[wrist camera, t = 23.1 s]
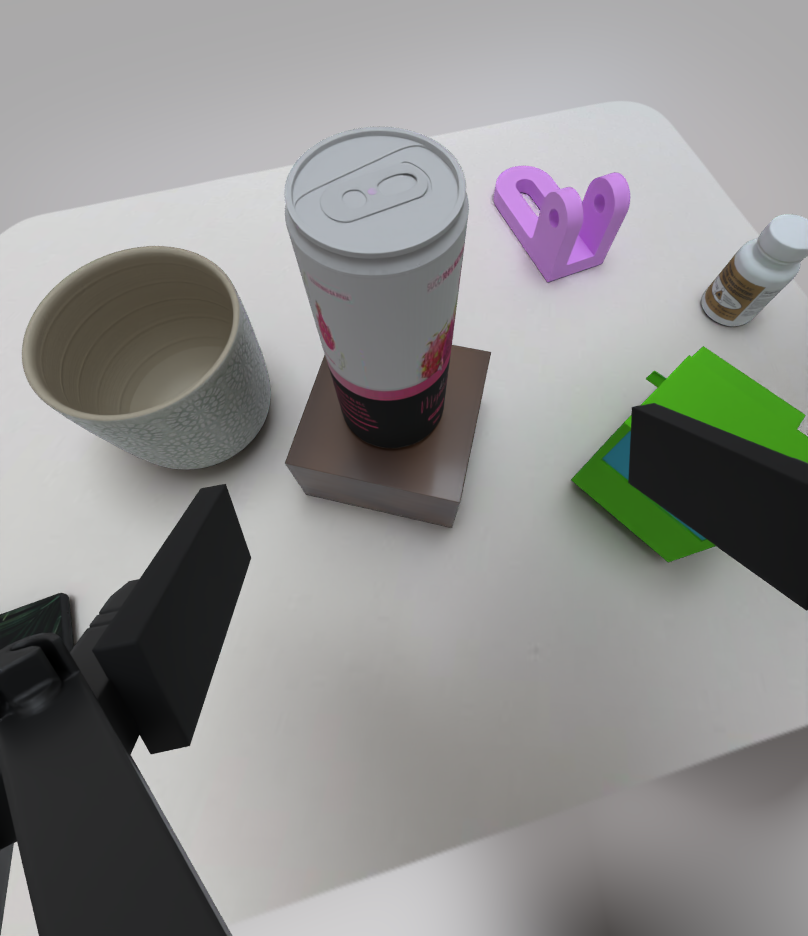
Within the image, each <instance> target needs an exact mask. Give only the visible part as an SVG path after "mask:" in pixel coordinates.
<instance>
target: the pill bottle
mask: <svg viewBox="0 0 808 936" xmlns="http://www.w3.org/2000/svg"><path fill="white" fill-rule="evenodd" d="M806 256H808V219H806V218H804V217H801V216H798V215H793V214H785V215H780V216H777V217H776V218H774V219H773V220H772V221H771V222H770V223H769V224H768V225H767V227H766V228H765V229H764V230H763V231H762V232H761V234H760V236H759V237H758V238H757V239H753V240H751V241H749V242H747V243H746V244H744V245H743V246H742V247H741V248H740V249H739V251H738V252H737V253H736V254H735V255H734V257H733V258H732V259H731V260H730V262H729V263H728V264H727V265H726V267H725V268H724V269H723V270H722V272H721V273H720V274H719V275H718V276H717V278H716V279H715V280H714V281H713V282H712V283H711V285H710V286H709V287H708V289H707V290H706V291H705V292H704V294H703V296H702V307H703V309H704V311H705V312H706V314H707V315H708V316H709V317H710V318H711V319H713V320H714V321H716V322H718V323H720V324H723V325H726V326H739V325H743V324H745V323H747V322H749V321H750V320H751V319H752V318H753V317H754V316H756V315H757V314H758V313H759V312H760V311H761V310H762V309H763V308H764V307H765V306H766V305H767V304H768V303H769V302H770V301H771V300H772V299H773V298H774V297H775V296H776V295H777V294H778V293H779V292H780V291H781V290H782V289H783V288H784V287H785V286H786V285H787V284H788V283H789V282H790V281H791V280H792V279H793V278H794V277H795V276H796V275H797V273H798V271H799V269H800V262H801V261H802V260H803V259H804V258H805V257H806Z"/></svg>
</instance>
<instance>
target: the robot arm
mask: <svg viewBox="0 0 808 936" xmlns="http://www.w3.org/2000/svg"><path fill="white" fill-rule="evenodd" d="M628 483H629V484H630V485H632V486H633V487H634V488H636V489H637V490H639V491H640V492H641V493H643V494H644V495H646V496H647V497H648V498H650V499H651V500H652V501H654V502H655V503H657V504H658V505H659V506H661V507H662V508H664V509H665V510H666V511H668V512H669V513H671V514H672V515H673V516H675V517H676V518H678V519H679V520H680V521H682V522H683V523H685V524H686V525H687V526H689V527H690V528H692V529H693V530H694V531H696V532H697V533H699V534H700V535H701V536H703V537H704V538H706V539H707V540H708V541H710V542H711V543H713V544H714V545H715V546H717V547H718V548H720V549H721V550H722V551H724V552H725V553H727V554H728V555H729V556H731V557H732V558H734V559H735V560H736V561H738V562H739V563H741V564H742V565H743V566H745V567H746V568H748V569H749V570H750V571H752V572H753V573H755V574H756V575H757V576H759V577H760V578H762V579H763V580H764V581H766V582H767V583H769V584H770V585H771V586H773V587H774V588H776V589H777V590H778V591H780V592H781V593H783V594H784V595H785V596H787V597H788V598H790V599H791V600H792V601H794V602H795V603H797V604H798V605H799V606H801V607H802V608H804V609H805V610H806V611H807V610H808V463H807V462H804V461H802V460H799V459H796V458H792V457H789V456H787V455H784V454H782V453H779V452H777V451H774V450H772V449H769V448H767V447H764V446H762V445H759V444H757V443H754V442H752V441H749V440H746V439H744V438H741V437H739V436H736V435H734V434H731V433H729V432H726V431H724V430H721V429H719V428H716V427H714V426H711V425H709V424H706V423H704V422H701V421H699V420H696V419H694V418H691V417H689V416H686V415H684V414H681V413H679V412H676V411H674V410H671V409H669V408H666V407H663V406H661V405H658V404H656V403H651V404H646V405H641V406H636V407H632V417H631V437H630V457H629V477H628ZM250 560H251V556H250V553H249V550H248V547H247V544H246V541H245V538H244V536H243V533H242V530H241V527H240V524H239V521H238V518H237V515H236V512H235V509H234V506H233V504H232V501H231V498H230V495H229V492H228V489H227V486H226V484H222V485H217V486H212V487H207V488H201V489H200V490H199V492H198V493H197V495H196V496H195V498H194V499H193V501H192V502H191V504H190V505H189V507H188V508H187V510H186V511H185V513H184V514H183V516H182V517H181V519H180V520H179V522H178V523H177V525H176V526H175V528H174V529H173V530H172V532H171V533H170V535H169V536H168V538H167V539H166V541H165V542H164V544H163V545H162V547H161V548H160V550H159V551H158V553H157V554H156V556H155V557H154V559H153V560H152V562H151V563H150V565H149V566H148V568H147V569H146V570H145V572H144V573H143V575H142V576H141V578H140V579H138V580H133V581H129V582H128V583H126V584H125V585H124V586H123V587H121V588H120V589H119V590H118V591H117V592H115V593H114V594H113V595H112V596H111V597H110V598H109V599H108V601H107V602H106V603H105V605H104V606H103V608H102V609H101V610H100V612H99V615H97V616H96V617H95V619H94V620H93V621H92V623H91V624H90V628H88V629H87V630H86V631H85V632H84V634H83V635H82V636H81V638H80V639H79V640H78V642H77V643H76V645H75V646H74V647H73V649H72V650H71V651H70V652H69V651H68V649H67V647H66V646H65V644H64V642H63V640H62V639H61V637H60V636H58V635H57V634H55V633H40V634H36V635H32V636H28V637H25V638H23V639H21V640H18V641H16V642H14V643H12V644H9V645H8V646H6V647H4V648H3V649H1V650H0V935H1V928H2V921H3V914H4V907H5V900H6V893H7V887H8V880H9V873H10V866H11V859H12V852H13V845H14V843H15V842H18V847H19V851H20V855H21V860H22V864H23V868H24V873H25V877H26V881H27V886H28V890H29V894H30V899H31V903H32V907H33V912H34V916H35V920H36V924H37V929H38V933H39V936H232V934H231V933H230V931H229V929H228V927H227V925H226V923H225V922H224V920H223V918H222V916H221V915H220V913H219V911H218V909H217V907H216V906H215V904H214V902H213V900H212V899H211V897H210V895H209V893H208V891H207V890H206V888H205V886H204V884H203V883H202V881H201V879H200V877H199V875H198V874H197V872H196V870H195V868H194V867H193V865H192V863H191V861H190V859H189V858H188V856H187V854H186V852H185V851H184V849H183V847H182V845H181V843H180V842H179V840H178V838H177V836H176V835H175V833H174V831H173V829H172V827H171V826H170V824H169V822H168V820H167V818H166V817H165V815H164V813H163V811H162V810H161V808H160V806H159V804H158V802H157V801H156V799H155V797H154V795H153V794H152V792H151V790H150V788H149V786H148V785H147V783H146V781H145V779H144V778H143V776H142V774H141V772H140V770H139V769H138V767H137V765H136V763H135V762H134V760H133V758H132V757H131V752H132V750H133V748H134V746H135V743H136V741H137V739H138V737H139V735H140V736H141V738H142V740H143V742H144V743H145V745H146V747H147V749H148V750H149V752H150V754H155V753H160V752H164V751H169V750H173V749H178V748H182V747H187V746H190V744H191V741H192V738H193V734H194V731H195V728H196V725H197V722H198V719H199V716H200V713H201V710H202V707H203V704H204V701H205V698H206V695H207V692H208V689H209V686H210V682H211V679H212V676H213V673H214V670H215V667H216V664H217V661H218V658H219V655H220V652H221V649H222V646H223V643H224V640H225V637H226V633H227V630H228V627H229V624H230V621H231V618H232V615H233V612H234V609H235V606H236V603H237V600H238V597H239V594H240V591H241V588H242V584H243V581H244V578H245V575H246V572H247V569H248V566H249V563H250Z"/></svg>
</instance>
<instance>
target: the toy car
mask: <svg viewBox="0 0 808 936" xmlns="http://www.w3.org/2000/svg"><path fill="white" fill-rule="evenodd" d="M646 379H647V380H648V381H649V382H651V383H652V384H654V385H655V386H656V387H658V388H657V389H656V390H655V391H654V392H653V393H652V394H651V395H650V396H649V397H648V398H647V399H646V400H645V401H644V402H643V403H642V404H641V405H646V404H651V403H656V404H658V405H661V406H663V407H666V408H669V409H671V410H674V411H676V412H679V413H681V414H684V415H686V416H689V417H691V418H694V419H696V420H699V421H701V422H704V423H706V424H709V425H711V426H714V427H716V428H719V429H721V430H724V431H726V432H729V433H731V434H734V435H736V436H739V437H741V438H744V439H746V440H749V441H752V442H754V443H757V444H759V445H762V446H764V447H767V448H769V449H772V450H774V451H777V452H779V453H782V454H784V455H787V456H789V457H792V458H796V459H799V460H802V461H804V462H807V463H808V437H807V436H806V435H805V434H803V433H802V432H800V431H799V430H797V428H798V427H799V425H800V423H801V422H802V420H803V419H804V417H805V414H803V413H802V412H800V411H799V410H797V409H796V408H794V407H793V406H791V405H790V404H788V403H787V402H785V401H784V400H782V399H781V398H779V397H778V396H776V395H775V394H773V393H772V392H770V391H769V390H768V389H766V388H765V387H763V386H762V385H760V384H759V383H757V382H756V381H754V380H753V379H751V378H750V377H748V376H747V375H745V374H744V373H742V372H741V371H739V370H738V369H736V368H735V367H733V366H732V365H730V364H729V363H727V362H726V361H724V360H723V359H722V358H720V357H719V356H717V355H716V354H714V353H713V352H711V351H710V350H708V349H707V348H705V347H704V346H703V347H702V348H701V349H700V350H699V351H698V352H696V353H695V354H694V355H693V356H692V357H691V356H690V355H689V356H688V357H687V358H686V359H685V360H684V361H683V362H682V363H681V364H680V365H679V366H678V367H677V368H676V369H675V370H674V371H673V372H672V373H671V374H670V376H669V377H668V378H667V379H666V378H665V377H663V376H662V375H661V374H659V373H658V372H656V371H653V372H652V373H651V374H650V375H649V376H648V377H647V378H646ZM641 405H640V406H641ZM631 417H632V415H631V416H630V417H629V418H628V419H627V420H626V421H625V422H624V423H623V424H622V425H621V426H620V427H619V428H618V429H617V431H616V432H615V433H614V434H613V435H612V436H611V437H610V438H609V439H608V440H607V441H606V442H605V444H604V445H603V446H602V447H601V448H600V449H599V450H598V451H597V452H596V453H595V454H594V455H593V456H592V458H591V459H590V460H589V461H588V462H587V463H586V464H585V465H584V466H583V467H582V468H581V469H580V471H579V472H578V473H577V474H576V475H575V476H574V477H573V478H572V479H571V480H572V481H573V482H574V483H575V484H576V485H577V486H579V487H580V488H581V489H582V490H583V491H585V492H586V493H587V494H588V495H589V496H590V497H592V498H593V499H594V500H595V501H596V502H598V503H599V504H600V505H601V506H602V507H603V508H605V509H606V510H607V511H608V512H609V513H611V514H612V515H613V516H614V517H615V518H616V519H618V520H619V521H620V522H621V523H622V524H624V525H625V526H626V527H627V528H628V529H629V530H631V531H632V532H633V533H634V534H635V535H636V536H638V537H639V538H640V539H641V540H642V541H644V542H645V543H646V544H647V545H648V546H649V547H651V548H652V549H653V550H654V551H655V552H657V553H658V554H659V555H660V556H661V557H662V558H664V559H665V560H666V561H667V562H671V561H674V560H677V559H680V558H682V557H685V556H688V555H691V554H694V553H697V552H700V551H703V550H706V549H709V548H712V547H714V546H715V545H714V544H713V543H711V542H710V541H708V540H707V539H706V538H704V537H703V536H701V535H700V534H699V533H697V532H696V531H694V530H693V529H692V528H690V527H689V526H687V525H686V524H685V523H683V522H682V521H680V520H679V519H678V518H676V517H675V516H673V515H672V514H671V513H669V512H668V511H666V510H665V509H664V508H662V507H661V506H659V505H658V504H657V503H655V502H654V501H652V500H651V499H650V498H648V497H647V496H646V495H644V494H643V493H641V492H640V491H639V490H637V489H636V488H634V487H633V486H632V485H630V484H629V483H628V477H629V457H630V437H631Z"/></svg>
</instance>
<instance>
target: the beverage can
mask: <svg viewBox="0 0 808 936" xmlns="http://www.w3.org/2000/svg"><path fill="white" fill-rule="evenodd" d="M285 202H286V206H285V220H286V225H287V229H288V232H289V235H290V239H291V242H292V245H293V249H294V252H295V256H296V259H297V262H298V266H299V269H300V272H301V276H302V279H303V282H304V286H305V289H306V293H307V296H308V299H309V303H310V306H311V309H312V313H313V316H314V319H315V323H316V326H317V330H318V333H319V336H320V340H321V343H322V346H323V350H324V353H325V356H326V360H327V363H328V367H329V370H330V373H331V377H332V380H333V383H334V387H335V390H336V393H337V397H338V400H339V404H340V407H341V410H342V414H343V417H344V419H345V422H346V423H347V425H348V427H349V428H350V429H351V431H352V432H353V433H354V434H355V435H356V436H358V437H359V438H360V439H362V440H363V441H365V442H367V443H369V444H372V445H375V446H378V447H383V448H400V447H405V446H409V445H412V444H415V443H417V442H419V441H420V440H422V439H424V438H425V437H426V436H428V435H429V434H430V433H431V432H432V431H433V430H434V429H435V427H436V426H437V424H438V423H439V421H440V419H441V417H442V414H443V410H444V402H445V394H446V386H447V378H448V371H449V363H450V355H451V347H452V339H453V331H454V323H455V315H456V307H457V299H458V291H459V283H460V276H461V268H462V260H463V252H464V244H465V236H466V228H467V220H468V212H469V203H468V197H467V193H466V181H465V176H464V173H463V170H462V168H461V166H460V164H459V162H458V161H457V159H456V158H455V157H454V156H453V154H452V153H451V152H450V151H449V150H448V149H446V148H445V147H444V146H443V145H441V144H440V143H438V142H437V141H435V140H433V139H431V138H429V137H427V136H425V135H422V134H420V133H417V132H414V131H410V130H406V129H401V128H393V127H366V128H358V129H353V130H348V131H345V132H341V133H339V134H336V135H333V136H331V137H328V138H326V139H324V140H322V141H321V142H319V143H317V144H316V145H314V146H313V147H311V148H310V149H308V150H307V151H306V152H305V153H304V154H303V155H302V156H301V157H300V158H299V159H298V160H297V161H296V163H295V164H294V166H293V167H292V169H291V171H290V173H289V175H288V177H287V180H286V184H285Z"/></svg>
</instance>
